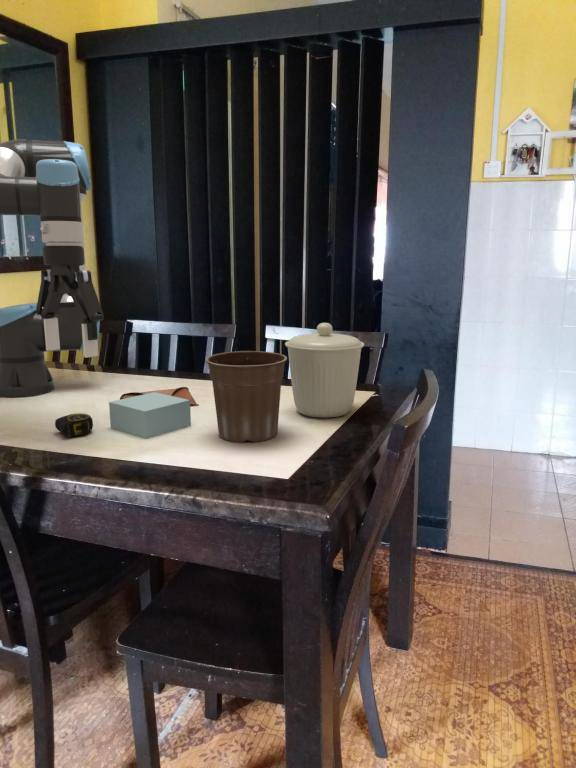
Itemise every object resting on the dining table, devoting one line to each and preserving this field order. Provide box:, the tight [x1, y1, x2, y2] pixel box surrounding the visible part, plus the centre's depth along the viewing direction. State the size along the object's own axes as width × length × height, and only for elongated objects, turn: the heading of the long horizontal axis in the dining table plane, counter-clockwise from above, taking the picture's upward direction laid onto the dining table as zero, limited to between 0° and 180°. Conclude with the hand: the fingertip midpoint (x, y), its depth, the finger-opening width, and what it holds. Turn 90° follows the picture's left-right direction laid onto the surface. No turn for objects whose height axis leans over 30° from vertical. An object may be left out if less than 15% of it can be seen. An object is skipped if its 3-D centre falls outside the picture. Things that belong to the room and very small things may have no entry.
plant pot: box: [205, 350, 288, 443], centre depth 121 cm, size 16×16×16 cm
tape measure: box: [54, 412, 94, 438], centre depth 123 cm, size 7×7×4 cm
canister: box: [284, 322, 365, 419], centre depth 137 cm, size 18×18×21 cm
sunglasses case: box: [119, 386, 200, 407], centre depth 145 cm, size 18×7×7 cm
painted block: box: [108, 392, 192, 440], centre depth 128 cm, size 12×12×6 cm
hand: (71, 353), depth 120 cm, fingers open, 13 cm apart
